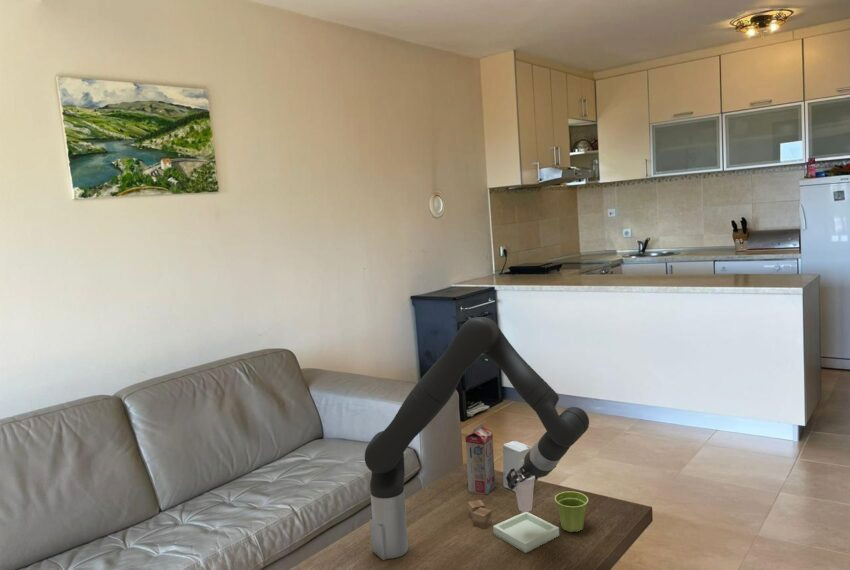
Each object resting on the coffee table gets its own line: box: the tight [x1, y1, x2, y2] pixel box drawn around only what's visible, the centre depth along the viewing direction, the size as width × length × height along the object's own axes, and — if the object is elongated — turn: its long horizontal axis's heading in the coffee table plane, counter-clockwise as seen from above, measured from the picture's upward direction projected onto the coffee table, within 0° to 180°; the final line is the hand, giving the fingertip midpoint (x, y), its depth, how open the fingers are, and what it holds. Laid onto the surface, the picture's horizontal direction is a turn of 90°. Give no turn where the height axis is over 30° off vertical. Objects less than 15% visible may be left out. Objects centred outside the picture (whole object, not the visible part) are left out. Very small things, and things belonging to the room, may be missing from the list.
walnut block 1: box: [467, 499, 486, 520], centre depth 191 cm, size 4×4×4 cm
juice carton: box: [465, 421, 496, 495], centre depth 208 cm, size 7×7×22 cm
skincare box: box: [502, 440, 533, 493], centre depth 207 cm, size 8×6×15 cm
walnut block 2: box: [472, 507, 493, 530], centre depth 186 cm, size 4×4×4 cm
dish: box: [492, 511, 560, 554], centre depth 178 cm, size 13×13×2 cm
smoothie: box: [515, 460, 535, 513], centre depth 176 cm, size 6×6×14 cm
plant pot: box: [554, 490, 589, 533], centre depth 180 cm, size 9×9×9 cm
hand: (520, 483), depth 178 cm, fingers closed on smoothie, 6 cm apart
